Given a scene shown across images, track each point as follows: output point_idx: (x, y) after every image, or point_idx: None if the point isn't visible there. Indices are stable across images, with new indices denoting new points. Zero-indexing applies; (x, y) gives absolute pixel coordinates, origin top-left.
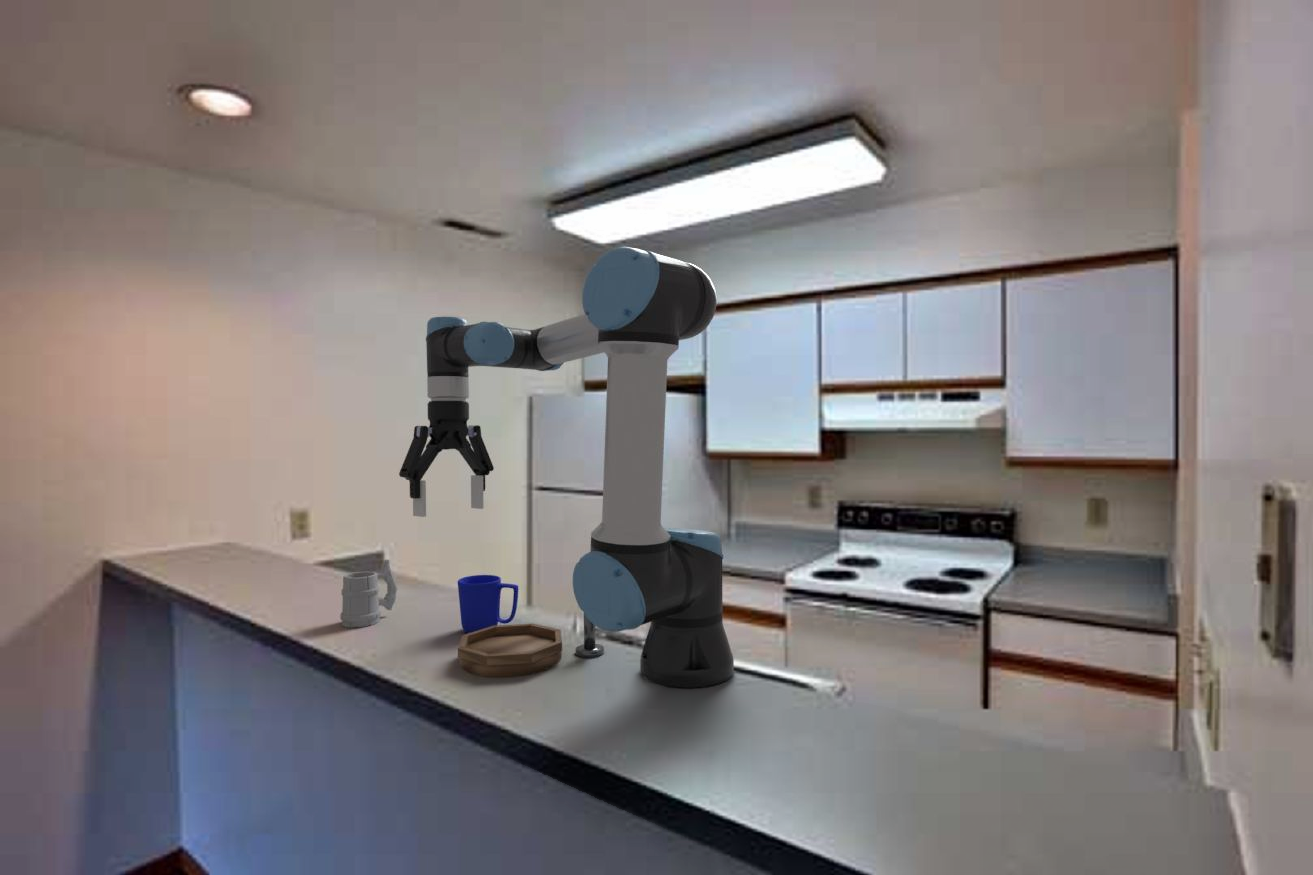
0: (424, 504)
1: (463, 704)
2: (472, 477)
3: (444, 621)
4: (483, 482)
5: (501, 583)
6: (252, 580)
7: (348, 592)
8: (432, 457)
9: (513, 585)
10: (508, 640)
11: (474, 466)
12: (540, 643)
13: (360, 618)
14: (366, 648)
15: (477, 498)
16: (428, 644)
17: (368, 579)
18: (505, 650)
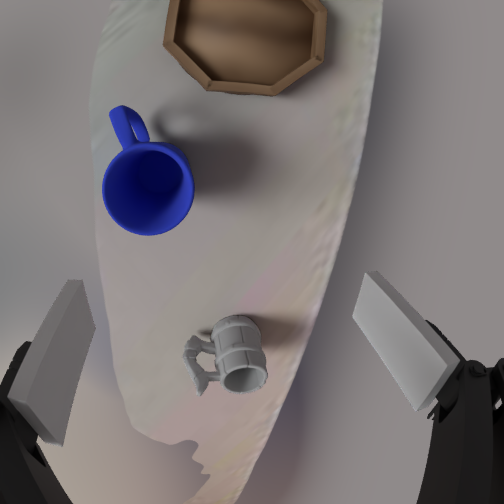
0: (394, 296)
1: (376, 7)
2: (59, 430)
3: (163, 253)
4: (15, 374)
5: (126, 141)
6: (205, 470)
7: (265, 358)
8: (474, 480)
9: (120, 112)
10: (222, 47)
11: (43, 476)
12: (209, 2)
13: (251, 323)
14: (306, 238)
15: (73, 325)
16: (255, 180)
17: (246, 361)
18: (262, 23)
